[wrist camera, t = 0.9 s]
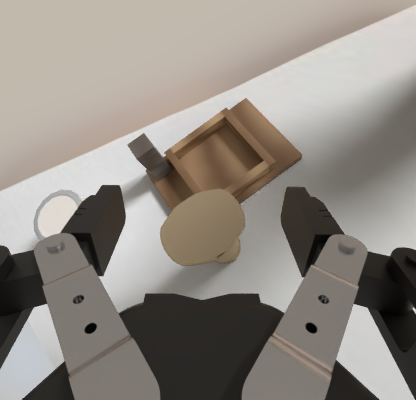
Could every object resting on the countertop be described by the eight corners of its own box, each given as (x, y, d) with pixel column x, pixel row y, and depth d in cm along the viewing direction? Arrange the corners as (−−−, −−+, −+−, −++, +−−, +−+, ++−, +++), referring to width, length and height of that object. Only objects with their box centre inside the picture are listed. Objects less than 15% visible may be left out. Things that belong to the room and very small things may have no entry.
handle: (259, 252, 32) (257, 228, 18) (216, 281, 32) (180, 279, 18) (237, 220, 34) (219, 176, 20) (196, 248, 34) (150, 223, 20)
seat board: (246, 102, 39) (242, 59, 32) (301, 158, 35) (311, 124, 27) (148, 173, 39) (120, 147, 31) (191, 238, 35) (171, 226, 27)
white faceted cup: (94, 196, 40) (61, 179, 33) (124, 223, 37) (94, 211, 31) (63, 231, 39) (22, 221, 32) (91, 262, 36) (53, 257, 30)
